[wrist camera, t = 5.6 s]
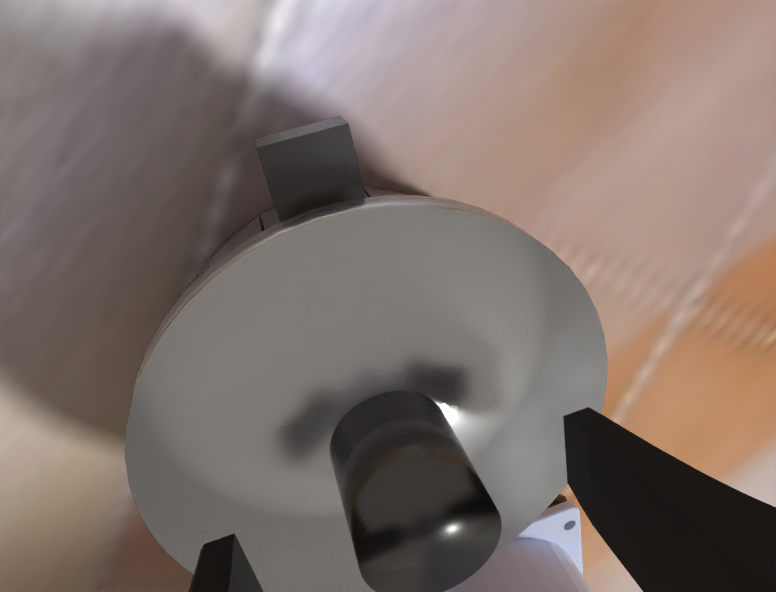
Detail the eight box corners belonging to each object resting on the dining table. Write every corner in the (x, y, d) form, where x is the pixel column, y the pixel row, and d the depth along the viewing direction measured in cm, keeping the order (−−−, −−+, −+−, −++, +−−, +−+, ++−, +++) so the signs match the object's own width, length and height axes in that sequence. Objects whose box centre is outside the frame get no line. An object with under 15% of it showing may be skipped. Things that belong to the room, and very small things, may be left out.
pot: (521, 462, 22) (578, 548, 19) (262, 556, 21) (272, 668, 17) (473, 55, 15) (552, 73, 11) (73, 159, 14) (25, 214, 10)
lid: (563, 489, 19) (662, 629, 15) (207, 599, 17) (205, 797, 13) (577, 139, 13) (741, 203, 9) (56, 240, 11) (-34, 380, 7)
